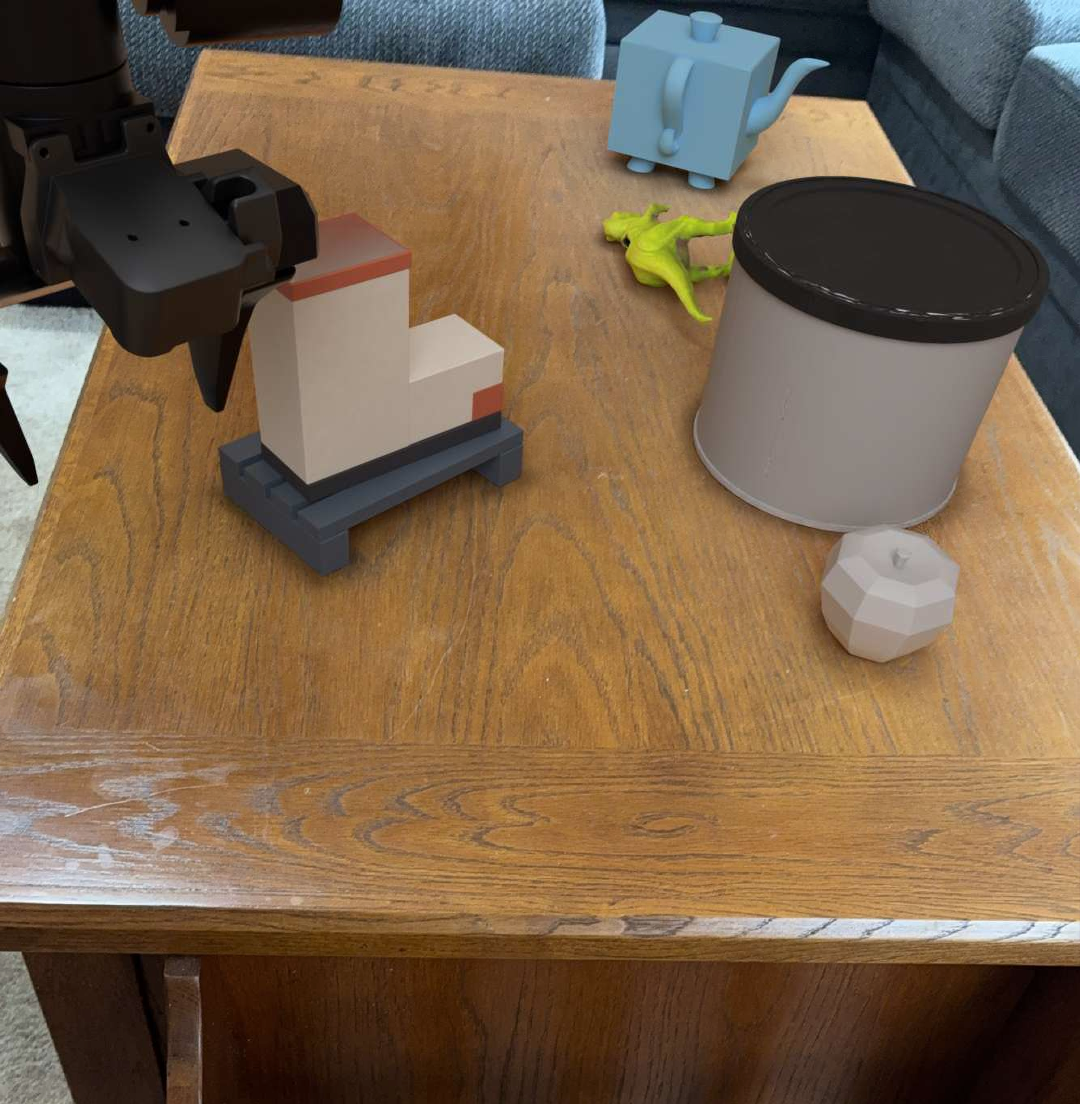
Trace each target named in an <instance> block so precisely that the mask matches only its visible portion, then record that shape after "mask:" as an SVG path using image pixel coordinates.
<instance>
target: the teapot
mask: <svg viewBox="0 0 1080 1104" xmlns="http://www.w3.org/2000/svg"><path fill="white" fill-rule="evenodd" d="M723 21H724V19H723V17H722V16H720V15H719V14H716V13H714V12H710V11H705V10H704V11H703V10H702V11H701V10H700V11H695V12H692V13H690V15H689V16H687V15H683V14H678V13H675V12H670V11H666V10H661V9H657V11H655V12H654V13H653V14H652V15H651V16H648V18H646V19H645V20H643V22H641V23H640V24H639V25H638V26H636V27H635V28H634V29H632V30H631V31H630V32H629V33H628V34H627V35H626V36H624V37H623V38H621V39H620V44H619V45H620V46H619V53H618V61H617V69H616V75H615V83H614V84H615V85H614V91H613V101H612V108H611V115H610V124H609V130H608V138H607V146H606V150H608V151H612V152H616V153H620V154H623V155H628V156H631V158H630V160H629V161H628V163H627V164H626V167H627V168H628V169H629V170H630V171H633V172H635V173H645V174H646V173H651V172H653V170H654V169H655V166H656V164H657V163H658V164H662V165H665V166H669V167H672V168H678V169H681V170H686V171H688V178H687V183H688V184H689V185H690V186H692V187H694V188H697V189H702V190H709V189H712V188H714V187H715V186H716V185H715V184H716V183H715V178H716V179H720V180H724V181H728V182H729V181H730V180H731V178H732V177H733V176H734V175H735V173H736V172H737V170H738V169H739V168H740V167H741V165H743V163H744V162H745V160H746V159H747V158H748V157H749V155H750V154H751V153H752V152H753V150H754V149H755V148H756V146H757V145H758V142H759V137H760V134H761V133H763V132H765V131H767V130H768V129H769V128H771V126H773V125H774V124H775V123H776V121H778V119H779V118H780V117H781V115H782V113H783V112H784V111H785V108H786V106H787V104H788V103H789V101H790V98H791V97H792V95H793V93H794V91H795V90H796V88H797V86H798V85H799V84H800V83H801V81H802V80H803V79H804V78H805V77H806V76H807V75H808V74H810V73H811V72H813V71H816V70H820V69H821V68H825V67H828V66H830V65H831V64H830V62H828V61H825V60H822V59H817V58H811V57H803V58H799V59H797V60H795V61H794V62H792V63H791V64H790V65H789V66H788V67H787V69H786V70H785V71H784V73H783V75H782V76H781V78H780V80H779V81H778V84H777V85H776V87H775V88H773V91H772V92H771V93H770V89H771V84H772V80H773V76H774V70H775V66H776V63H777V62H776V61H777V57H778V52H779V48H780V43H781V38H780V37H779V36H778V37H777V36H774V35H769V34H765V33H761V32H757V31H752V30H748V29H744V28H739V27H735V26H731V25H727V24H723Z"/></svg>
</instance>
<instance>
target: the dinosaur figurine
mask: <svg viewBox="0 0 1080 1104" xmlns="http://www.w3.org/2000/svg"><path fill="white" fill-rule="evenodd" d="M669 209H670V205H668V204H659V203H656V202H655V203H651V204H650V205H649V206H648V208H647V209H646V211H645V213H643V214H642V213H640V212H639V213H635V212H633V213H631V212H630V211H614V212H613V213H612V215H610V217H608V218H607V219H603V220H602V221H601V223H602V228H603V233H604V234H605V236H606V237H605V239H606V241H607V242H615V241H616V242H619V243H621V245H622V247H624V248H625V249H626V252H625V255H624V256H625V260H626V262H627V263H628V264H629V265H630V267H631V269H632V271H633V274H634V277H635V278H636V280H637V282H639V283H641V284H643V285H647V286H650V287H653V288H664V287H668V286H671V288H672V289H673V290H674V292H675V293H676V295H677V297H678V298H679V300H680V301H681V302H682V304H683V305H684V307H685V309H686V311H687V312H688V314H689V315H690V316H691V317H692V318H693V319H694V320H696V321H697V322H698V323H700V324H708V323H711V322H713V320H714V318H713V317H711V316H709V315H706V314H704V313H703V312H702V311H701V309H700V307H699V304H698V301H697V297H696V295H695V287H694V284H693V283H700V282H703V281H705V280H708V279H712V280H716V279H717V278H719V277H723V276H724V277H725V276H730V271H731V267H732V262H733V258H734V251H733V249H731V251H730V255H729V260H728V262H727V263H725V264H721V265H719V264H711V265H706V264H703V263H697V264H691V256H690V250H689V245H688V244H689V242H690V241H691V239H696V238H704V237H719V236H720V237H721V236H726V235H728V234H733V232H734V227H735V223H736V218H737V214H738V211H736V210H732V211H730V213H729V216H728V218H727V219H726V220H723V221H707V220H704V219H702V218H700V217H692V216H689V215H687V214H683V215H681V216H678V217H677V218H674V219H671V220H668V221H664V222H661V221H660V220H659V219H658V217H659V215H660V214H662V213H667V212H668V211H669Z"/></svg>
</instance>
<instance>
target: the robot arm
mask: <svg viewBox="0 0 1080 1104" xmlns="http://www.w3.org/2000/svg"><path fill="white" fill-rule="evenodd" d="M129 2H130V3H131V5H132V7H133V9H134V10H135V12H136V13H137V14H138V15H139V16H141V17H150V16H151V17H152V16H157V17H158V18H159V21H160V23H161V25H162V27H163V29H164V31H165V33H166V34H167V36H168V38H169V39H170V41H171V42H172V43H173V45H175V46H176V47H179V48H191V47H201V46H202V47H203V46H212V45H213V46H214V45H224V44H225V45H226V44H237V43H247V42H259V41H260V42H261V41H272V40H282V39H293V38H305V37H316V36H317V37H318V36H327V35H329V34H330V33H333V32H334V30H335V29H336V28H337V25H338V23H339V21H340V17H341V14H342V10H343V6H344V5H343V4H344V0H129ZM122 23H123V22H122V18H121V12H120V6H119V1H118V0H0V309H4V308H6V307H10V306H13V305H17V304H20V303H24V302H27V301H30V300H34V299H37V298H40V297H44V296H47V295H50V294H54V293H56V292H60V291H63V290H66V289H70V288H73V287H76V288H77V290H78V291H79V292H80V294H81V295H82V296H83V297H84V299H85V300H86V301H87V303H88V304H89V305H90V306H91V308H92V309H93V310H94V311H95V313H96V314H97V315H98V316H99V317H100V319H101V320H102V321H103V323H104V324H105V325H106V326H107V327H108V329H109V331H110V334H111V336H112V338H113V339H114V340H115V342H117V344H118V345H119V346H120V347H121V348H122V349H123V350H125V351H126V352H127V353H130V354H132V355H133V356H137V357H140V358H157V357H161V356H163V355H166V354H169V353H170V352H172V351H173V350H174V349H175V348H176V347H179V346H180V345H183V344H186V343H187V344H188V349H189V354H190V359H191V363H192V367H193V372H194V377H195V379H196V382H197V385H198V388H199V391H200V394H201V398H202V400H203V403H204V405H205V406H206V407H207V408H208V409H210V410H211V411H212V412H213V413H215V414H219V413H221V412H223V411H225V409H226V404H227V401H228V398H229V394H230V389H231V386H232V382H233V378H234V375H235V371H236V368H237V363H238V359H239V356H240V352H241V348H242V345H243V342H244V338H245V335H246V331H247V330H248V323H249V321H250V318H251V316H252V313H253V310H254V308H255V306H256V304H257V303H258V302H259V301H260V300H261V299H262V298H263V297H265V296H266V295H267V294H269V293H270V292H271V291H273V290H274V289H275V288H277V287H278V286H280V285H282V284H285V283H287V282H290V281H291V280H292V279H293V277H294V276H295V274H296V267H295V266H294V265H297V264H300V263H303V262H307V261H310V260H313V259H316V258H317V257H318V254H319V250H320V245H319V229H318V222H319V213H318V211H317V209H316V206H315V205H314V202H313V200H312V198H311V196H310V194H309V193H308V191H307V190H306V189H304V187H302V186H301V185H300V184H299V183H297V182H295V181H294V180H292V179H291V178H289V177H287V176H286V175H284V174H282V173H281V172H279V171H277V170H275V169H274V168H273V167H271V166H269V165H267V164H265V163H264V162H263V161H260V160H259V159H258V158H256V157H254V156H252V155H250V154H249V153H247V152H245V151H244V150H242V149H241V148H240V147H237V148H233V149H230V150H226V151H222V152H218V153H213V154H210V155H206V156H201V157H197V158H194V159H190V160H186V161H182V162H178V163H173V161H172V159H171V157H170V155H169V152H168V150H167V148H166V146H165V143H164V138H163V132H162V126H161V123H160V122H161V121H160V120H159V119H158V118H157V117H156V113H155V106H154V102H153V100H150V99H149V98H148V97H145V96H144V95H143V94H141V93H139V92H138V91H136V90H134V87H133V83H132V77H131V76H132V75H131V70H130V65H129V60H128V53H127V48H126V42H125V35H124V30H123V29H124V28H123V24H122ZM8 375H9V369H8V367H6V366H5V364H3V363H2V362H1V361H0V455H1V456H2V457H3V458H4V459H5V461H6V462H7V463H8V465H9V466H10V467H11V468H12V469H13V471H14V472H15V473H16V474H17V476H18V477H19V478H20V479H21V480H22V481H23V482H24V483H25V484H27V485H28V486H29V487H34V486H36V485H38V484H39V477H38V472H37V468H36V463H35V459H34V456H33V453H32V451H31V448H30V446H29V443H28V441H27V438H26V436H25V433H24V431H23V428H22V426H21V424H20V421H19V419H18V416H17V414H16V411H15V409H14V407H13V404H12V401H11V399H10V397H9V394H8V392H7V388H6V386H7V381H8Z"/></svg>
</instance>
